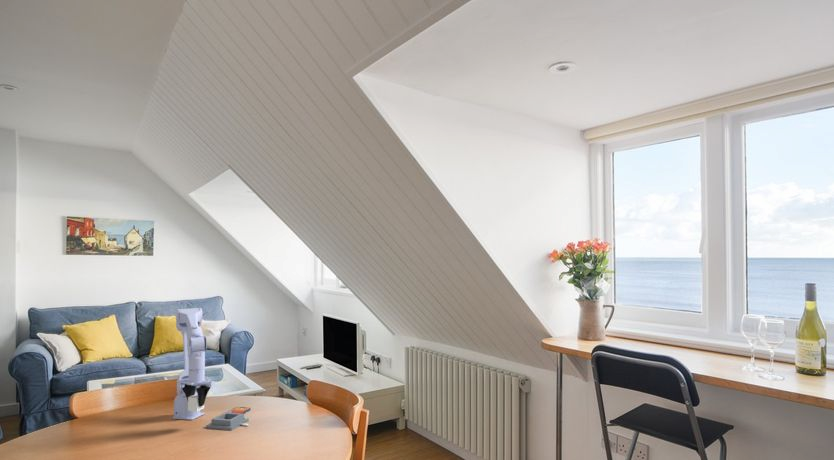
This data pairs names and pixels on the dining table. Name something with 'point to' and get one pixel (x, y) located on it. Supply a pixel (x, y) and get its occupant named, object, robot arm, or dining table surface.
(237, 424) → the block
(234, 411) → the smartphone
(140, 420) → the dining table surface
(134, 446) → the dining table surface
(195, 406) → the white block
